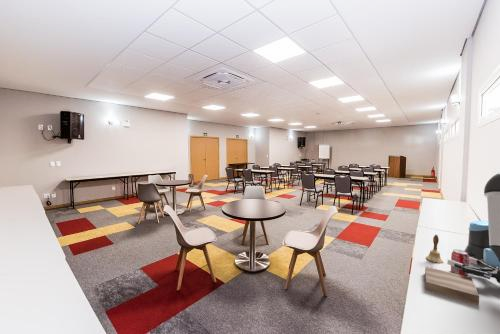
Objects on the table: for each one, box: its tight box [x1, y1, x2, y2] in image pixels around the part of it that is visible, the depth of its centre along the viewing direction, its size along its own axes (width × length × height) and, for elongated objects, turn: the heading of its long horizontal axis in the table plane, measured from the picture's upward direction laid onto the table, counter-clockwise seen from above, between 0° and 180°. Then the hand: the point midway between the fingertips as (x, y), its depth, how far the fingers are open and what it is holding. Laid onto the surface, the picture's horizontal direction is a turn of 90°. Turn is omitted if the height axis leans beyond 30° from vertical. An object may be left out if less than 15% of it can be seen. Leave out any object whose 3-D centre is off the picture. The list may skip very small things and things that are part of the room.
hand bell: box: [425, 234, 444, 264], centre depth 137 cm, size 8×8×16 cm
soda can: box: [450, 249, 470, 276], centre depth 122 cm, size 7×7×12 cm
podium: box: [424, 266, 480, 306], centre depth 109 cm, size 18×18×4 cm
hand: (454, 259), depth 124 cm, fingers open, 13 cm apart
